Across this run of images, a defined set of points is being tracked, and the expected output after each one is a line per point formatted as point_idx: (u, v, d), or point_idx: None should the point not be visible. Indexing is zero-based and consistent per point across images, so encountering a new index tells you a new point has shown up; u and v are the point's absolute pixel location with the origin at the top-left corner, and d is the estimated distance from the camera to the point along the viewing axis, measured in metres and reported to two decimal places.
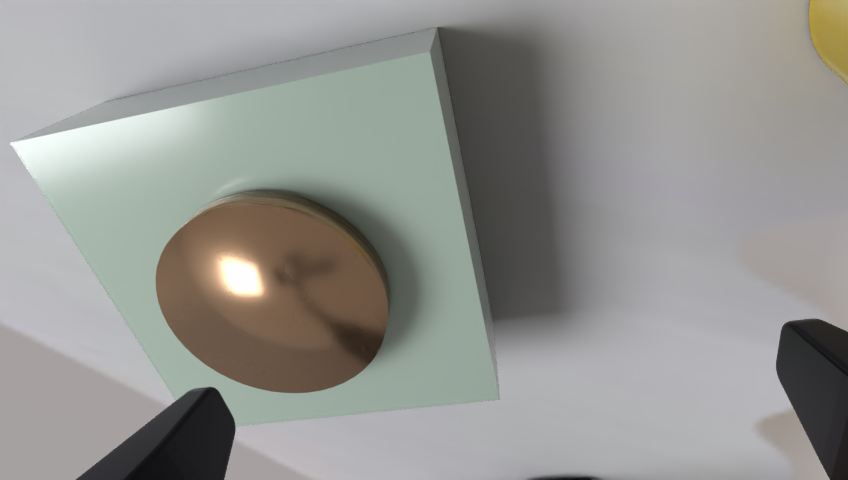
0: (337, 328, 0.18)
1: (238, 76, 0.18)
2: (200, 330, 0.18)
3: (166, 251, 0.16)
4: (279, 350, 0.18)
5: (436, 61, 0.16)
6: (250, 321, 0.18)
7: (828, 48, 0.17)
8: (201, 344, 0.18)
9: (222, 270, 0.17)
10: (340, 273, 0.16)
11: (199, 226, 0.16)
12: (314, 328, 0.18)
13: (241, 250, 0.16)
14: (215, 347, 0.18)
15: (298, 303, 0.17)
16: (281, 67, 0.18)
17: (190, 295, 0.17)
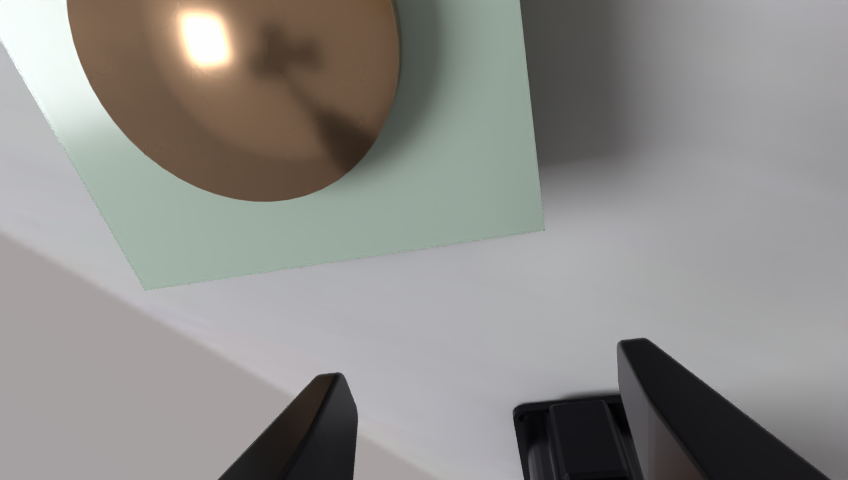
0: (327, 82, 0.12)
1: None
2: (135, 92, 0.13)
3: None
4: (246, 125, 0.13)
5: None
6: (204, 73, 0.13)
7: None
8: (138, 118, 0.13)
9: None
10: None
11: None
12: (294, 83, 0.13)
13: None
14: (157, 123, 0.13)
15: (271, 36, 0.12)
16: None
17: (117, 27, 0.12)
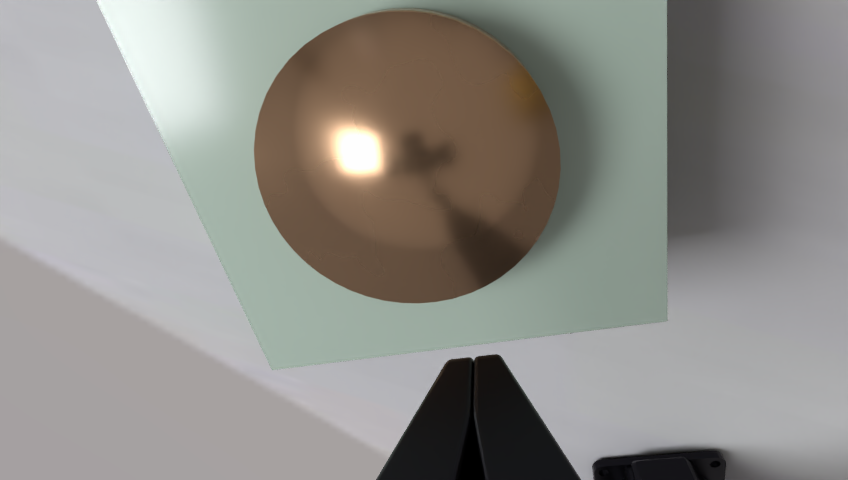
0: (489, 203, 0.13)
1: None
2: (306, 211, 0.14)
3: (274, 88, 0.12)
4: (406, 239, 0.14)
5: None
6: (374, 195, 0.14)
7: None
8: (304, 232, 0.14)
9: (346, 117, 0.13)
10: (507, 116, 0.12)
11: (323, 46, 0.12)
12: (458, 204, 0.13)
13: (376, 83, 0.12)
14: (322, 236, 0.14)
15: (442, 166, 0.13)
16: None
17: (299, 157, 0.13)
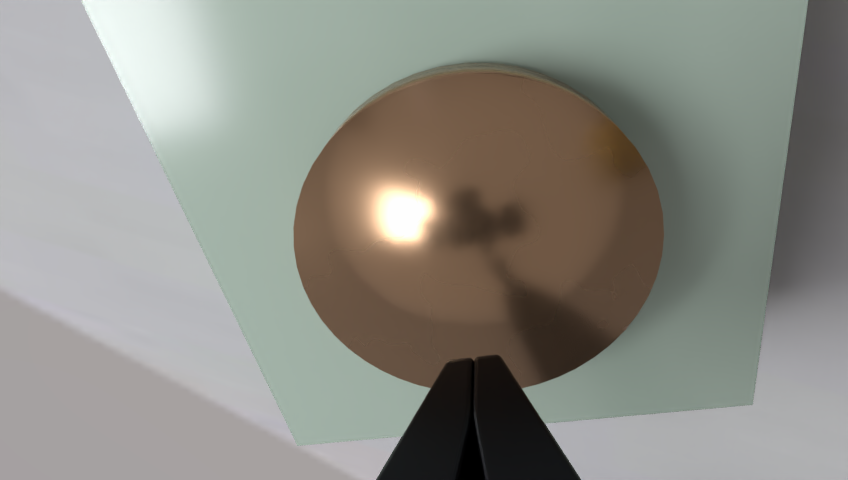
0: (572, 291, 0.11)
1: None
2: (352, 294, 0.12)
3: (322, 159, 0.10)
4: (469, 326, 0.12)
5: None
6: (434, 279, 0.11)
7: None
8: (349, 317, 0.12)
9: (408, 193, 0.10)
10: (604, 196, 0.10)
11: (386, 112, 0.10)
12: (534, 291, 0.11)
13: (447, 156, 0.10)
14: (369, 321, 0.12)
15: (520, 249, 0.11)
16: None
17: (347, 236, 0.11)
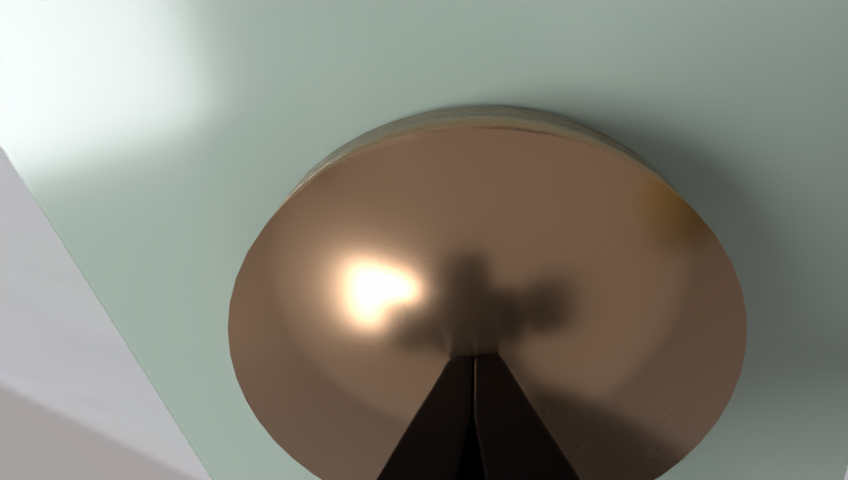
0: (611, 413, 0.08)
1: None
2: (312, 411, 0.09)
3: (261, 244, 0.07)
4: None
5: None
6: (423, 396, 0.08)
7: None
8: (310, 437, 0.09)
9: (384, 290, 0.07)
10: (664, 298, 0.07)
11: (350, 183, 0.07)
12: (560, 412, 0.08)
13: (440, 242, 0.07)
14: (338, 443, 0.09)
15: (541, 362, 0.08)
16: None
17: (302, 342, 0.08)
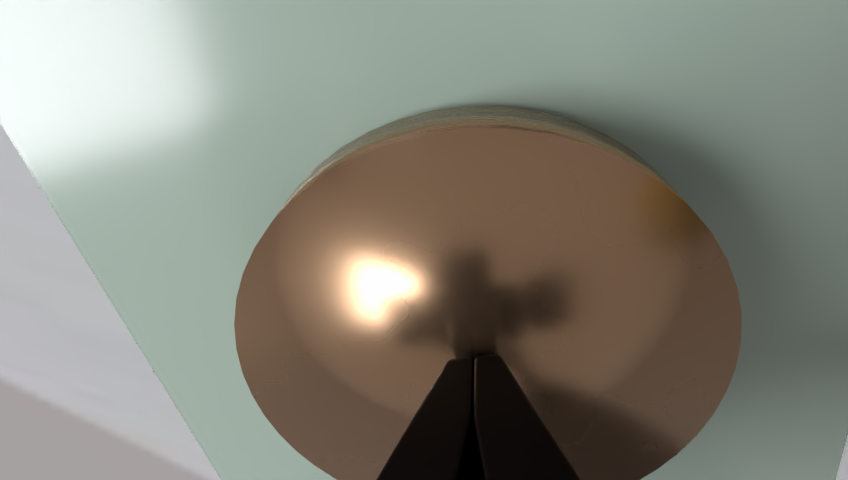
0: (610, 406, 0.08)
1: None
2: (317, 405, 0.09)
3: (268, 240, 0.07)
4: None
5: None
6: (426, 389, 0.09)
7: None
8: (314, 430, 0.09)
9: (387, 284, 0.08)
10: (661, 293, 0.07)
11: (354, 180, 0.07)
12: (559, 405, 0.08)
13: (442, 239, 0.07)
14: (341, 436, 0.09)
15: (541, 355, 0.08)
16: None
17: (307, 336, 0.08)
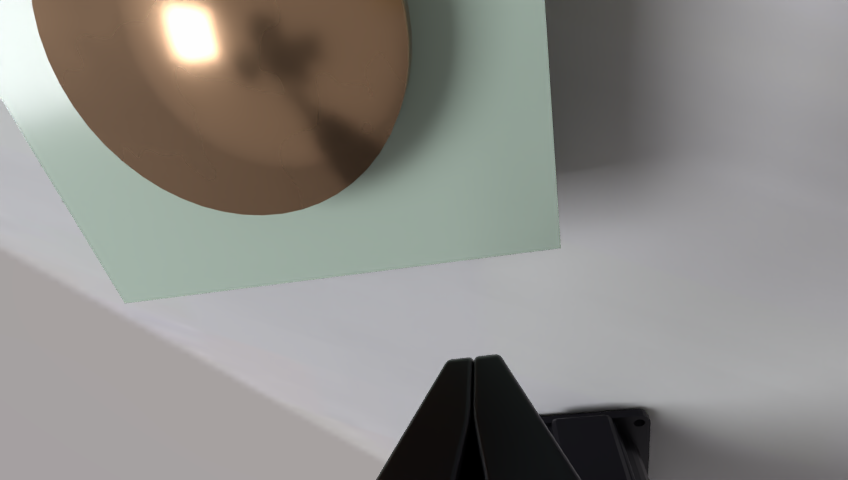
0: (327, 86, 0.11)
1: None
2: (111, 93, 0.11)
3: None
4: (236, 132, 0.12)
5: None
6: (189, 73, 0.11)
7: None
8: (114, 121, 0.12)
9: None
10: None
11: None
12: (291, 86, 0.11)
13: None
14: (136, 127, 0.12)
15: (265, 34, 0.11)
16: None
17: (89, 19, 0.11)
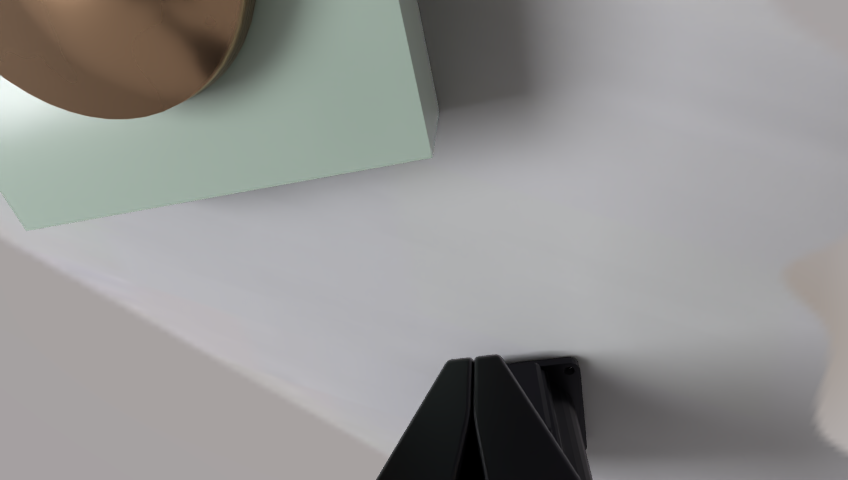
0: None
1: None
2: None
3: None
4: (89, 30, 0.12)
5: None
6: None
7: None
8: None
9: None
10: None
11: None
12: None
13: None
14: None
15: None
16: None
17: None
